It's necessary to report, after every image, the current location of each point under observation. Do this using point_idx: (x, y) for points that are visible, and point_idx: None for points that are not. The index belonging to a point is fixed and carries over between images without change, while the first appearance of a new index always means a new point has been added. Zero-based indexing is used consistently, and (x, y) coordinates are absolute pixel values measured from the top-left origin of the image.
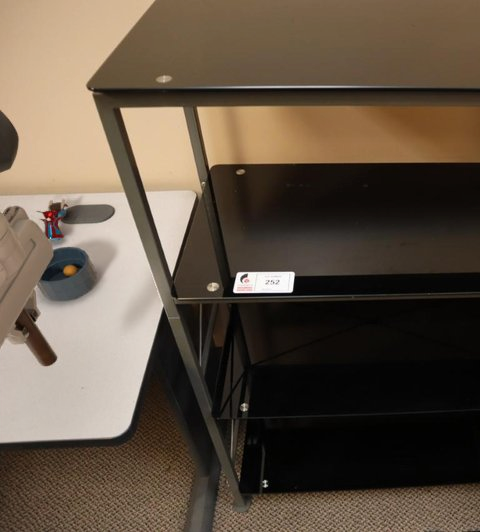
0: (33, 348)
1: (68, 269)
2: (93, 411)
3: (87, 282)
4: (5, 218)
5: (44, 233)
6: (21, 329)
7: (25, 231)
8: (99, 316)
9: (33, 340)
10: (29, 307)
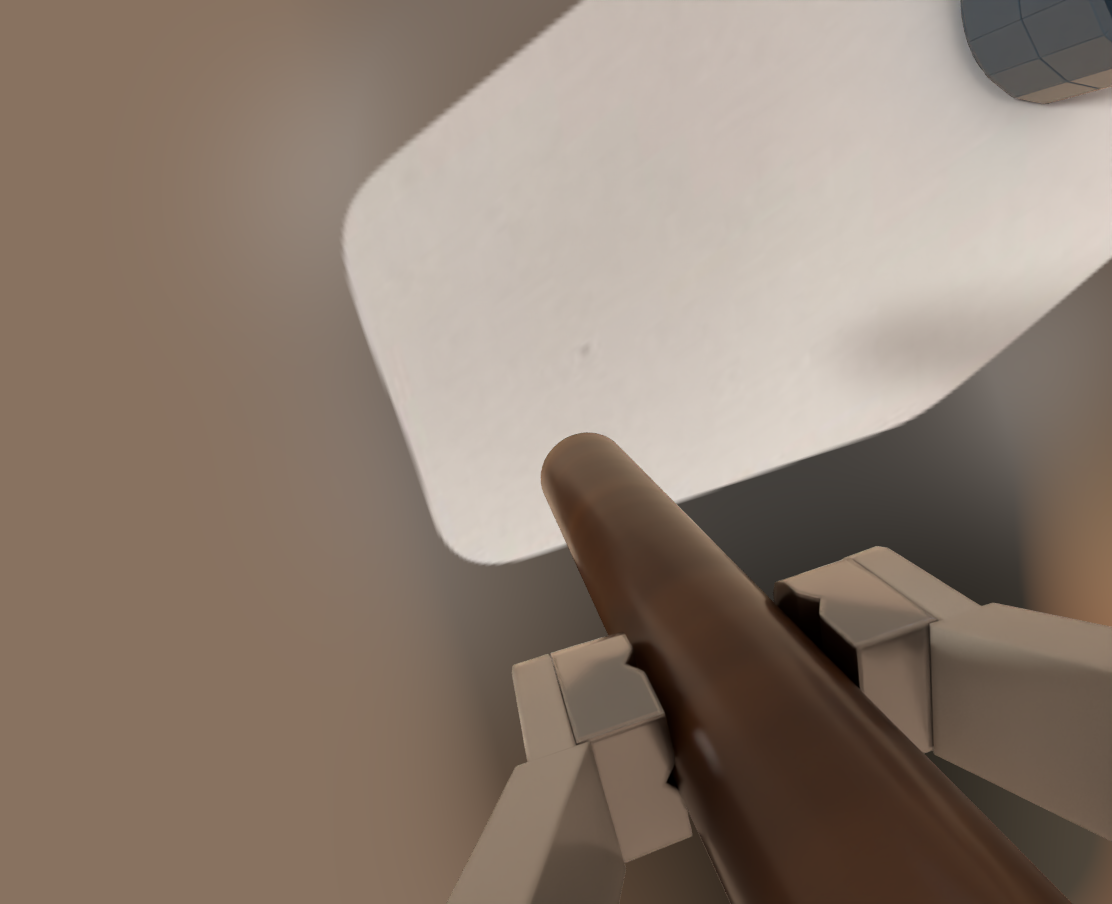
0: (581, 575)
1: None
2: (507, 441)
3: (1065, 89)
4: None
5: None
6: (654, 839)
7: None
8: (889, 216)
9: None
10: (961, 730)
